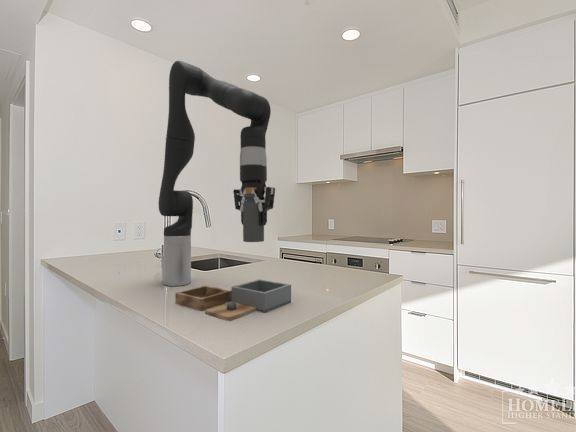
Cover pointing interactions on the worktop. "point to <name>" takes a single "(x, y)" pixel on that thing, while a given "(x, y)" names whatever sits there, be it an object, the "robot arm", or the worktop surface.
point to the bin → (262, 294)
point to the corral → (196, 301)
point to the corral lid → (230, 311)
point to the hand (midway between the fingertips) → (253, 224)
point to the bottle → (251, 219)
